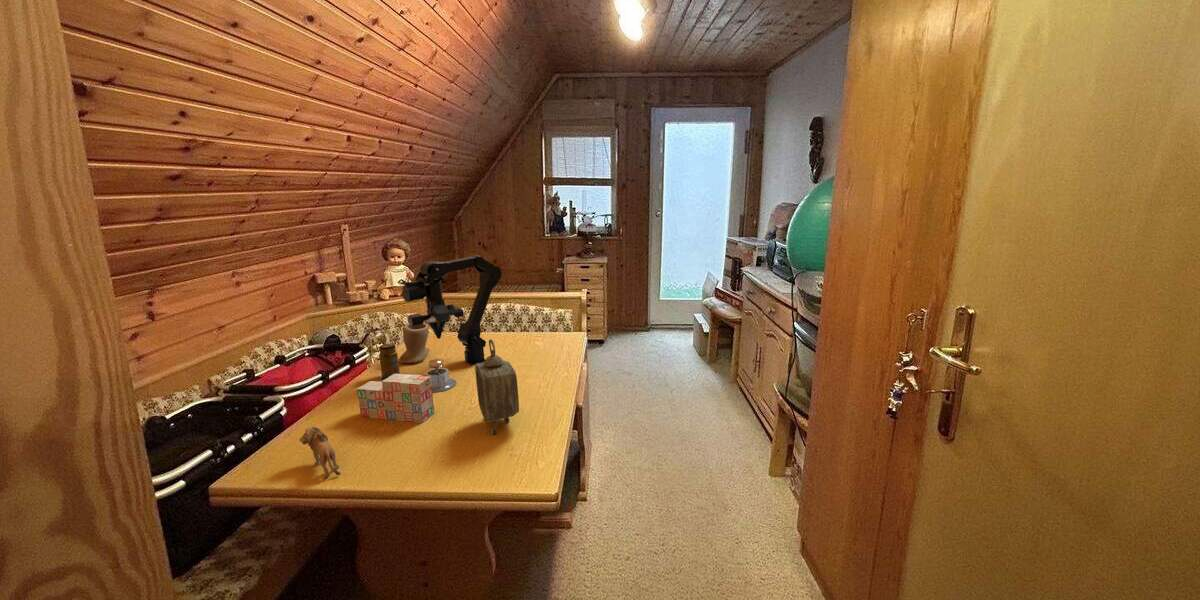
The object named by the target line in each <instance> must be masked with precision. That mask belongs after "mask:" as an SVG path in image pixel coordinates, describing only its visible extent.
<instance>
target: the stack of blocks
mask: <svg viewBox="0 0 1200 600" xmlns="http://www.w3.org/2000/svg"><path fill="white" fill-rule="evenodd" d="M433 394H434V393H432V385H431V376H424V375H421V374H403V373H401V374H393V375H391V376H390V377H388V378H387V379H385V380H383V381H382V380H381V381H372V380H370V381H368V382H366V383H365V384H362V385H361V386H360V387H357V388H356V395H357V400H358V405H359V406H358V407H359V412H360V417H361V418H370V419H379V418H380V420H381V419H382V420H386V419H387V420H388V419H391V420H390V421H398V420H400V422H407V421H408V422H410V423H418V424H424V423H425V422H427V421H428V420H429V419H430V418H431V417H432V416H434V415H435V414H436V413H435V404H434V397H433Z"/></svg>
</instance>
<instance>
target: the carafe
mask: <svg viewBox="0 0 1200 600" xmlns="http://www.w3.org/2000/svg"><path fill="white" fill-rule="evenodd" d="M423 376H431V385H432V389H439V388H444V387H446V386H448V385H449V384H450V378H451V377H450V370H449V369H448V368H446V367H440V368H438V375H436V370H435V368H430V369H428V370H427V371H425V373H424V374H423Z"/></svg>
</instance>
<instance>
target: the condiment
mask: <svg viewBox="0 0 1200 600" xmlns="http://www.w3.org/2000/svg"><path fill="white" fill-rule="evenodd" d="M378 349H379V354H378V357H379V365H380V371H381V375H377V377H378V378H379V379H380V380H381V382H382V381H383V380H385V379H387V378H388V377H390V376H391V375H393V374H399V373H401V372H400V364H399V363H400V362H399V356H398V351H397V349H396V345H395V343H383V344H381V345H380V346H379V348H378Z"/></svg>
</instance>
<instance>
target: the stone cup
mask: <svg viewBox="0 0 1200 600" xmlns="http://www.w3.org/2000/svg"><path fill="white" fill-rule="evenodd" d="M429 333H430V331H429V326H428V324H427V323H425V322H423V324H420V325H411V324H409V323H408V322H407V323H406V324H405V325H404V327H403V330H402V337H403V343H404V345H405V349H406V350H405V351H404V352H403V353H402V354H401V356H400V357H398V362H399V363H404V364H406V363H407V364H412V363H420V362H422V361H423V360H425V358H426V357H427V356H428V354H429V353H430V351H431V349H429V348H428V347H426V345H427V341H428V337H429Z"/></svg>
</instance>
